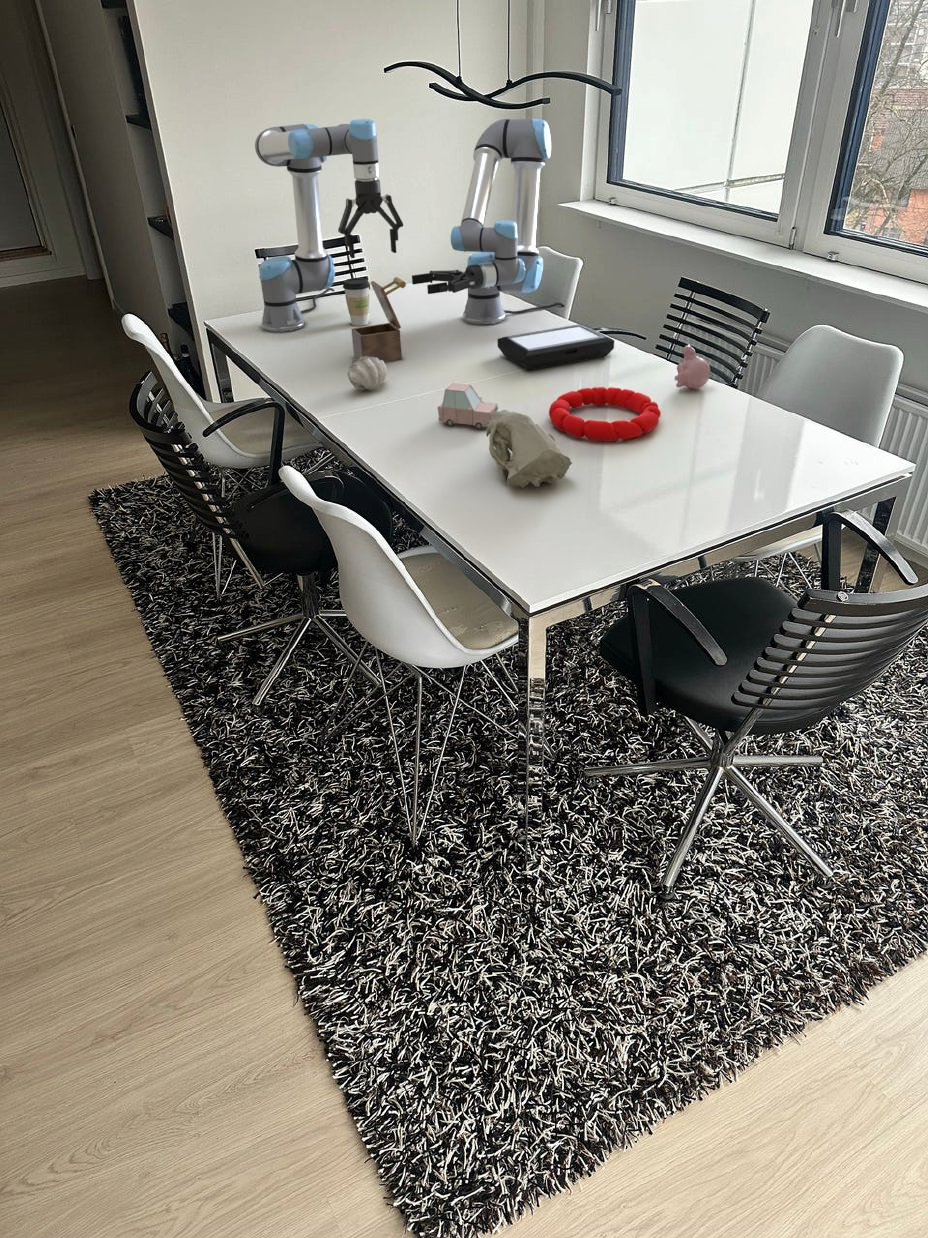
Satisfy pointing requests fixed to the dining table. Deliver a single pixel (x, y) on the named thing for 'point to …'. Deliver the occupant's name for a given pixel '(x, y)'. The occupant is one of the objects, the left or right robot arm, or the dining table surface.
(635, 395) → the decorative ring
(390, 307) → the lid
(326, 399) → the dining table surface
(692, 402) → the dining table surface
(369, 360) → the seashell
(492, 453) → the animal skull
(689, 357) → the figurine
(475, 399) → the toy car
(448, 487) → the dining table surface
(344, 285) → the coffee cup
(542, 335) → the electronic device
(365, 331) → the chest
